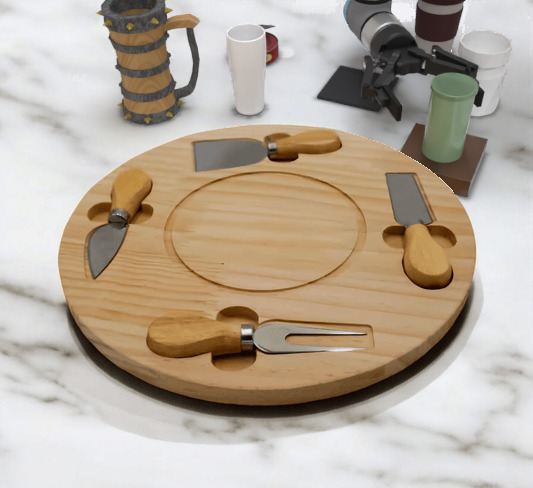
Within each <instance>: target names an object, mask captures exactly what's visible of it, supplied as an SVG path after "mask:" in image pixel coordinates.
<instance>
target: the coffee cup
mask: <svg viewBox="0 0 533 488" xmlns="http://www.w3.org/2000/svg"><path fill="white" fill-rule="evenodd" d="M466 1H467V0H417V1H416V4H415V18H414V19H415V21H414V34H415V35H414V36H415V37H414V39H415V40H416V43H417V45H418V47H419V48H420V49H423V50H424V51H428V50H432V46H433V45H438V46H440V47H441V48H442V49H443V50H445V51H447V52H449V53H452V49H453V45H454V42H455V38H456V37H457V34H458V31H459V27H460V23H461V19H462V15H463V11H464V2H466Z"/></svg>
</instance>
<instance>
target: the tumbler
mask: <svg viewBox="0 0 533 488" xmlns="http://www.w3.org/2000/svg"><path fill="white" fill-rule="evenodd" d="M429 87H430V95H429V102H428V108H427V114H426V120H425V124H424V125H425V131H424V137H423V143H422V152H423V154H424V155H425V156H426V157H427V158H429V159H430V160H433V161H436V162H441V163H449V162H454V161H456V160H458V159H459V158H460V157H461V156H462V154H463V149H464V145H465V140H466V135H467V134H468V130H469V126H470V121H471V118H472V116H471V113H472V108H473V104H474V99H475V96H476V94H477V92H478V87H479V86H478V83H477V82H476V81H475V80H474V79H473V78H471V77H469V76H467V75H464V74H460V73H443V74H440V75H437V76H434V77H433V78H432V79H431V81H430V86H429Z"/></svg>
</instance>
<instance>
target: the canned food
mask: <svg viewBox="0 0 533 488" xmlns="http://www.w3.org/2000/svg"><path fill="white" fill-rule="evenodd" d="M258 25H259V26H261V27H262V28H264V30H268V29H272V28H276V25H273V24H258ZM265 35H266V67H267V66H269V65H271V64H273V63H275V62H276V61H277V59H278V58H279V55H280V54H279V39H278V37H277V36H276V35H275V34H273V33H271V32H268V31H265Z"/></svg>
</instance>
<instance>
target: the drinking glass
mask: <svg viewBox="0 0 533 488" xmlns="http://www.w3.org/2000/svg"><path fill="white" fill-rule="evenodd" d="M259 25H260V24H256V23H247V22H246V23H239V24H235V25H233V26H231V27H229V28H228V29H227V30H226V33H225V40H226V41H225V43H226V55H227V62H228V67H229V74H230V79H231V85H232V91H233V96H234V97H233V98H234V108H235V110H236V111H237V112H238V113H239V114H241V115H244V116H256V115H258V114H260V113H262V111H263V110H264V108H265V86H266V69H267V66H266V35H265V32H266V29H264V28H262V27H261V26H259Z"/></svg>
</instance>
